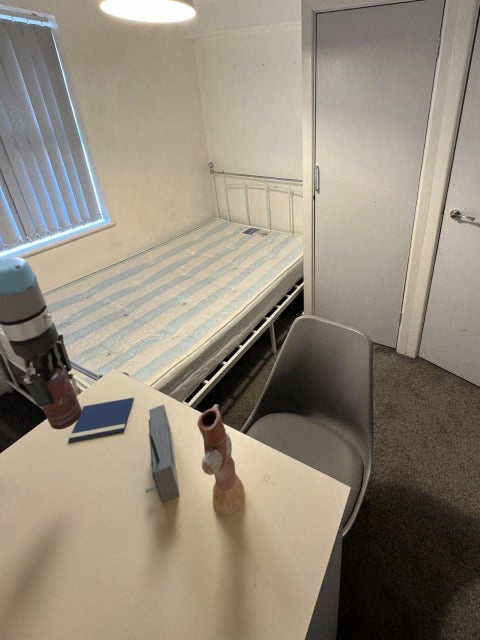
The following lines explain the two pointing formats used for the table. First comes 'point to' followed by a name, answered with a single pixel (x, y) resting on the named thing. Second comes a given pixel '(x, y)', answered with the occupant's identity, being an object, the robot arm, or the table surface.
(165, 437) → the electronic device
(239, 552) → the table surface
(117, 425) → the book
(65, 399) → the can
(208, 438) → the vase
